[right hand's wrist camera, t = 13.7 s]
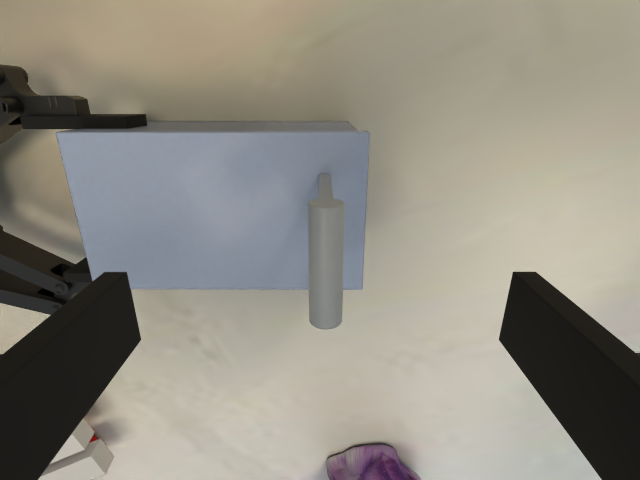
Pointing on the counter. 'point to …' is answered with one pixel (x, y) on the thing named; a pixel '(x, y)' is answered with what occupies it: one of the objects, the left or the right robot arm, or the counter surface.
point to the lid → (224, 209)
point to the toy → (80, 457)
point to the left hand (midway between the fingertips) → (150, 201)
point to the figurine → (369, 465)
